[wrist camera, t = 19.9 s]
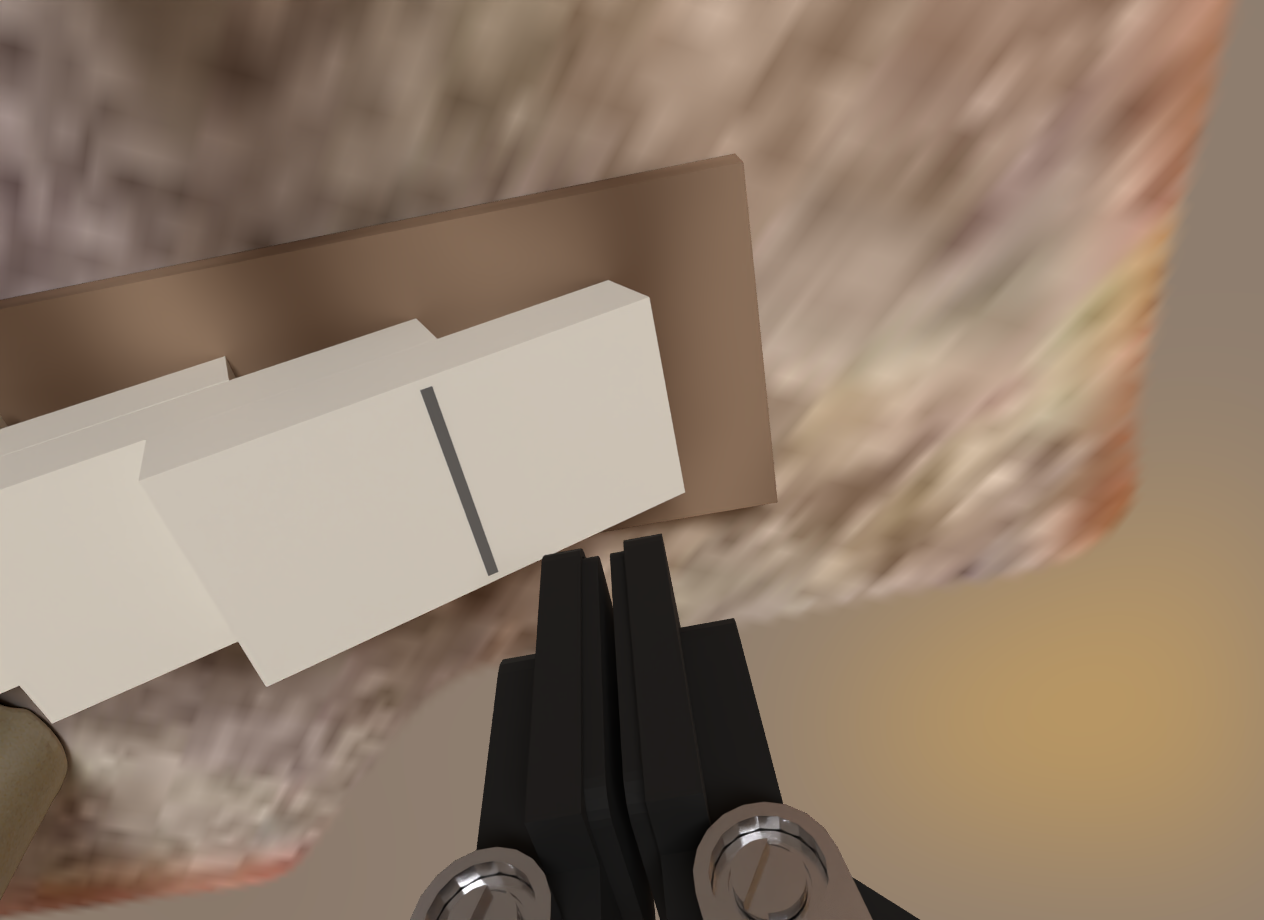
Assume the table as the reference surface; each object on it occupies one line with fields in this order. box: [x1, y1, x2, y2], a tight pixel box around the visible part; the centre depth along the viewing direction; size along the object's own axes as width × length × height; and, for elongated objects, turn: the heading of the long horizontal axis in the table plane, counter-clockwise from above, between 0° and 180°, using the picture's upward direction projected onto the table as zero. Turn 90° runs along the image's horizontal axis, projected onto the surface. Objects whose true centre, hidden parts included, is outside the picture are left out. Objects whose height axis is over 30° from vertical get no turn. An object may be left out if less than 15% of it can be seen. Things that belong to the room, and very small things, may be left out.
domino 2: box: [0, 319, 437, 723], centre depth 17 cm, size 2×5×10 cm
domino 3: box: [139, 280, 685, 687], centre depth 16 cm, size 2×5×10 cm
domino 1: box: [0, 356, 236, 694], centre depth 17 cm, size 2×5×10 cm
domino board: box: [0, 154, 777, 532], centre depth 20 cm, size 23×9×1 cm, turn 100°
